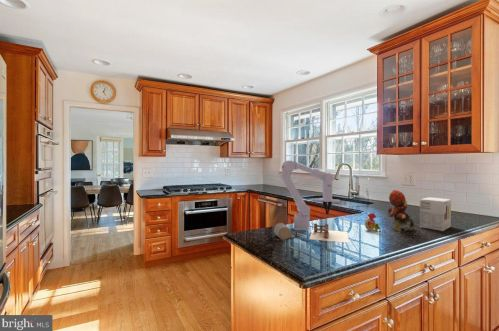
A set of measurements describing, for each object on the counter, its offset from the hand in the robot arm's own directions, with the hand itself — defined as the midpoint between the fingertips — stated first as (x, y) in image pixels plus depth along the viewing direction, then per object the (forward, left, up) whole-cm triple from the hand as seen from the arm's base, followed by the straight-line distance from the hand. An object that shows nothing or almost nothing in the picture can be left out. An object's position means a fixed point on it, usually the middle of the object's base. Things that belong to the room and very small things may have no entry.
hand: (327, 214), depth 166 cm
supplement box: (+66, +27, -10) cm, 72 cm away
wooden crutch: (0, -18, -9) cm, 20 cm away
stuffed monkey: (+44, +14, -10) cm, 47 cm away
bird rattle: (+26, +5, -10) cm, 28 cm away
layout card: (+2, -16, -9) cm, 19 cm away
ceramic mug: (-22, -27, -10) cm, 36 cm away
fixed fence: (-3, -11, -9) cm, 14 cm away
